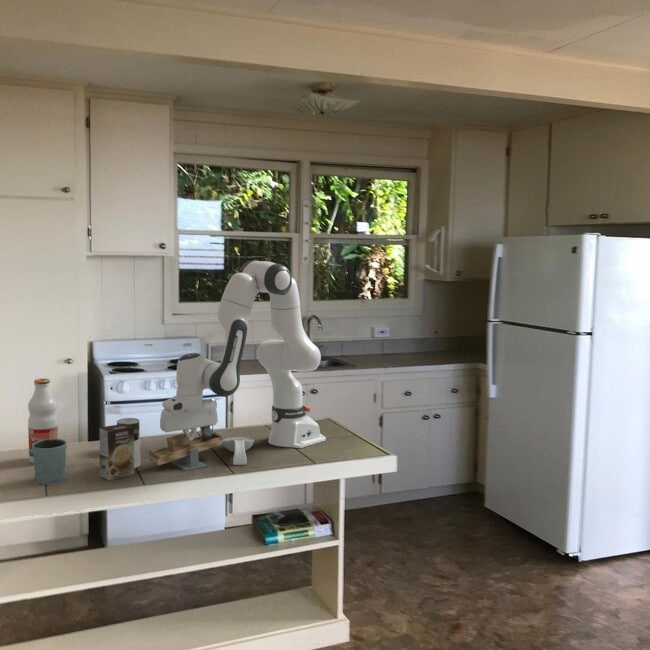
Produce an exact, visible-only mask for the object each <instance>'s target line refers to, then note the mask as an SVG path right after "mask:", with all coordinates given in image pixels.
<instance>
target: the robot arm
mask: <svg viewBox="0 0 650 650" xmlns="http://www.w3.org/2000/svg"><path fill="white" fill-rule="evenodd" d="M223 291H224V292H223V293H222V296H221V299H220V302H219V306H218V311H217V319H218V321H219V324H220V325H221V327H222V329H223V330H224V332H225V336H226V337H225V339H226V340H225V343H224V344H225V345H224V349H223V354H222V358H221V362H218V361H215V360H211V359H208V358H206V357H204V356H202V355H201V354H200V353H197V352H193V353H187V354H183V355H182V356H181V357H178V360H177V364H176V377H175V379H176V381H175V382H176V384H177V388H176V392H175V393H176V394H175V395H174V396H172V397H171V398H168V399H166V400H164V401H163V402H162V407H163V409H162V410H161V412H160V418H159V419H160V421H159V428H160V429H161V430H162V431H163V432H164V433H170V432H171V433H172V432H177V431H182V433H183V434H185V435H187V436H189V441H193V438H194V436H195V434H196V432H197V428H200V427H204V426H211V425H213V426H216V425H217V424H218V421H219V419H218V409H217V408H218V403H217V400H216V399H214V398H205V399H203V398H204V396H203V395H204V390H209V391H211V392H212V393H214V394H215V395H217V396H218V397H222V398H223V397H230V396H232V395H233V394H235V393H236V392H237V390H238V389H239V387H240V382H241V377H240V376H241V375H240V368H241V364H242V363H241V362H242V358H243V354H244V349H245V345H246V339H247V335H248V326H249V321H250V320H249V319H250V316H251V313H252V309H253V306H254V303H255V302H254V301H255V298H256V296H258V294H259V293H265V294H266V293H267V294H268V296H269V306H270V307H269V309H270V321H271V327H272V329H273V330H274V331H275V332H276V333H277V334H279V335H280V336H281V338H282V340H281V339H276V338H275V339H268V340H267V339H266V340H263V341H262V342H261V343H260V344H259V346H258V347H257V350H256V356H257V357H256V358H257V361H258V362H259V363H260V364H261V366H263V367H264V369H265V370H266V372H267V374H268V376H269V378H270V381H271V385H272V386H271V387H272V396H273V397H272V398H273V399H272V400H273V401H272V406H271V421H272V422H271V428H270V434H269V437H268V440H267V442H268V443H269V444H270V445H272V446H275V447H282V448H295V449H303V448H306V447H308V446H309V447H310V446H311V445H312V446H313V445H316V444H319V443H323V442H326V436H325V435H323V434H321V431H320V430H321V429H320V425H319V423H317V422H316V421H315V420H313V418H311V417H310V416H309V415H308V414H307V413H311V411H312V407H311V406H308V405H306V406H305V405H303V386H302V384H301V382H300V381H299V380H298V379H296V378H295V377H294V375H293V373H292V371H293V372H299V373H305V372H314V371H316V369H317V368H319V366H320V365H321V359H322V355H321V354H322V353H321V351H320V348H319V347H318V346H317V345H315V344H314V343H313V342H312V341H311V339H310V338H309V336H308V335H307V333H306V330H305V329H304V326H303V322H302V315H301V314H302V312H301V300H300V293H299V288H298V285H297V281H296V280H295V278H294V277H292V274H291V272H290V270H289V268H287V267H286V266H285V265H283V264H281V263H275V262H272V261H268V260H264V261H263V260H260V261H259V260H256V259H255V260H249V261H246V262H244V263H243V264H242V265H241V267H240V268H239V271H238V272H235V273H234V274H233V275H231V277H230V279H229V281H228V283H227V284H226V286H225V289H224V290H223ZM306 412H307V413H306ZM189 431H190V433H189Z"/></svg>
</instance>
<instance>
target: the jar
mask: <svg viewBox="0 0 650 650" xmlns="http://www.w3.org/2000/svg"><path fill="white" fill-rule="evenodd" d="M139 431H140V430H139ZM139 431H138V430H137V429H134V469H136V468H138V467H141V438H140V439H139V435H140V434H139V433H140V432H139Z"/></svg>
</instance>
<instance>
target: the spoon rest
mask: <svg viewBox="0 0 650 650" xmlns="http://www.w3.org/2000/svg"><path fill="white" fill-rule="evenodd" d="M254 444H255V439H254V438H252V437H248V436H238V437H237V436H233V437H227V438H224V439H223V438H222V445H223V447H225V448H226V449H227V450H229V452H230V453H233V459H232V465H234V466H244V465H245V466H246V465H247V464H248V460H247V455H246V452H247V451H248V450H249V449H251V448H252V446H253V445H254Z"/></svg>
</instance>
